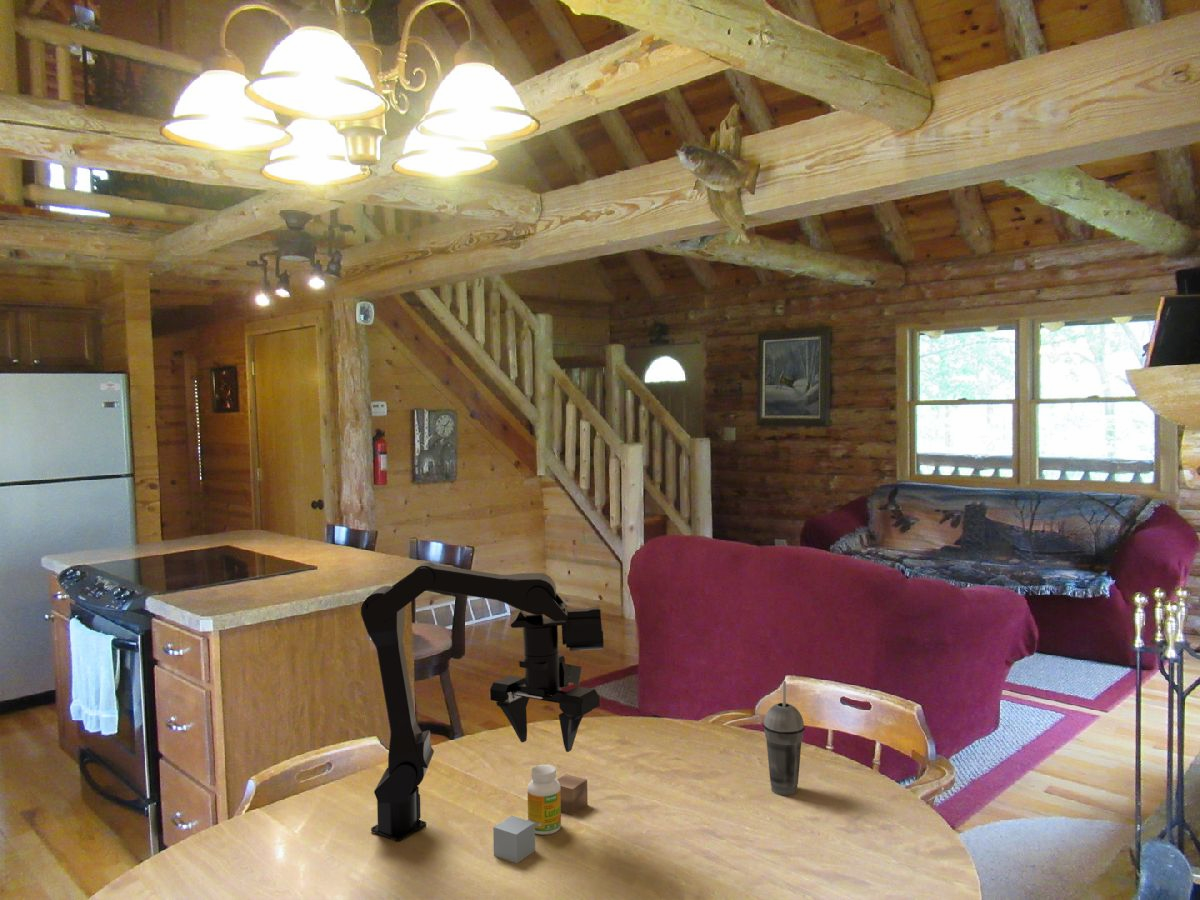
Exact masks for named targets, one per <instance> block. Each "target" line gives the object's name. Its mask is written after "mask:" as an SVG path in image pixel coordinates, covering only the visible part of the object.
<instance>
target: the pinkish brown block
mask: <svg viewBox="0 0 1200 900" xmlns="http://www.w3.org/2000/svg"><path fill="white" fill-rule="evenodd" d="M556 780H557V781H558V782H559V783H560V789H561V813H564V814H569V815H572V816H573V815H575V814H576V813H578V812H579V811H581V810H582V809H584V808H585V807H587V806H588V804H589V801H588V798H589V797H588V779H587V778H582V777H580V776H579V777H578V776H575V775H572V774H565V773H564V775H562V776H560V777H559V778H556Z"/></svg>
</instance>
